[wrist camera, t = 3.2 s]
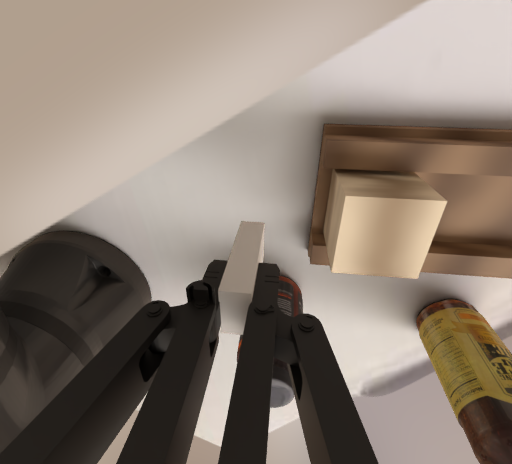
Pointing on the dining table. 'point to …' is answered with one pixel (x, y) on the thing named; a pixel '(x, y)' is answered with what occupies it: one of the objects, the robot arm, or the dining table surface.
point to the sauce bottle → (472, 375)
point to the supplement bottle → (281, 378)
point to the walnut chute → (441, 180)
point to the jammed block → (380, 222)
